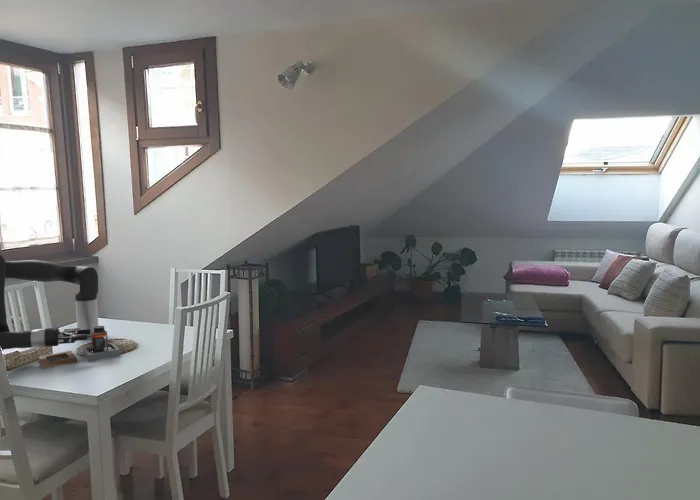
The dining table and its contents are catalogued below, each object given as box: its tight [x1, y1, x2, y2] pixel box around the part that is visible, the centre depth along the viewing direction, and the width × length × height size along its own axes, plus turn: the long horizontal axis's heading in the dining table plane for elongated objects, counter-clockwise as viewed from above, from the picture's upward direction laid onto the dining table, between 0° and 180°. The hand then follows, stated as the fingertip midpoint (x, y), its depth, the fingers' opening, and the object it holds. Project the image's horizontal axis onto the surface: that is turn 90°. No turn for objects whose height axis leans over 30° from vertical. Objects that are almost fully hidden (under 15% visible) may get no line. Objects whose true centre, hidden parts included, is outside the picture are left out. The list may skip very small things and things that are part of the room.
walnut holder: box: [38, 350, 78, 369], centre depth 214 cm, size 12×12×2 cm
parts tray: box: [81, 342, 121, 362], centre depth 223 cm, size 12×12×3 cm
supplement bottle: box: [91, 325, 109, 353], centre depth 222 cm, size 6×6×11 cm
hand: (88, 334), depth 220 cm, fingers open, 8 cm apart
